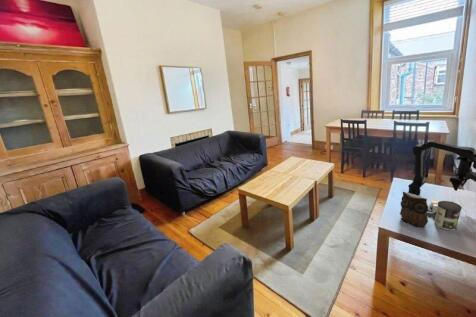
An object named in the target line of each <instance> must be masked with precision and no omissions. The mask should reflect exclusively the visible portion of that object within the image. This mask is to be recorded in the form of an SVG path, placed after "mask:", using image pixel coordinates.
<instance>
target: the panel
mask: <svg viewBox="0 0 476 317" xmlns="http://www.w3.org/2000/svg"><path fill="white" fill-rule="evenodd" d="M430 207H431V203H430V204H429V205H428V212H426V213H427V217H428V216H429V217H431V218H432V217H433V218H435V217H436V212H435V213H433V211H432V209H433V208H430Z"/></svg>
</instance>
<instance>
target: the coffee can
mask: <svg viewBox="0 0 476 317" xmlns="http://www.w3.org/2000/svg"><path fill="white" fill-rule="evenodd" d="M437 202H438V204H437V205H438V207H437V212H436V217H434V222H433V223H434V225H435V226H437V228H441V229H442V230H445V231H456V230H457V228H458V224H459V219H460V217H461V211H462V206H461V205H460V204H458V203H455V202H454V201H449V200H440V201H437Z"/></svg>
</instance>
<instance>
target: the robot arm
mask: <svg viewBox="0 0 476 317" xmlns="http://www.w3.org/2000/svg"><path fill="white" fill-rule="evenodd" d="M431 148H434V149H438V150H442V151H444V152H445V151H446V152H450V153H454V154H455V155H457V157H456V158H455V160H458V161H459V163H458V167H456V173H455V174H454V176H451V177H450V178H449V180H448V181H449V182H450V184H451V185H452V187H453V190H454V192H455V191H458V190H459V188H460V187H462V188H463V187H464V186H465V185H466V183H467V181H469V180H472V181H473V182H474V183H476V172H475V171H473V169H474V170H476V149H475V147H471V146H459V145H458V146H457V145H454V144H449V143H445V142H442V141H441V142H440V141H437V140H435V139H434V140H430V141H428V142H425V143H419V144H416V145H415V146H414V147H413V148H412V153H413V156H414V177H413V179H412V182H411V183H409V184H408V185H407V186H408V192H407V193H411V194H415V195H417V196H421V192H422V189H421V188H422V187H423V186H424V185H425V184H426V182H427V181H426V180H427V179H426V178H427V176H424V175H423V173H424V172H423V171H424V169H423V168H424V166H423V165H424V155H425V152H426V150H428V149H431Z"/></svg>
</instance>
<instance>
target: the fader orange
mask: <svg viewBox="0 0 476 317" xmlns="http://www.w3.org/2000/svg"><path fill="white" fill-rule="evenodd" d="M438 202H439V201H435V200H431V203H430V205H431V207H430V208H433V205H434V204H436V205H438Z"/></svg>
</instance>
